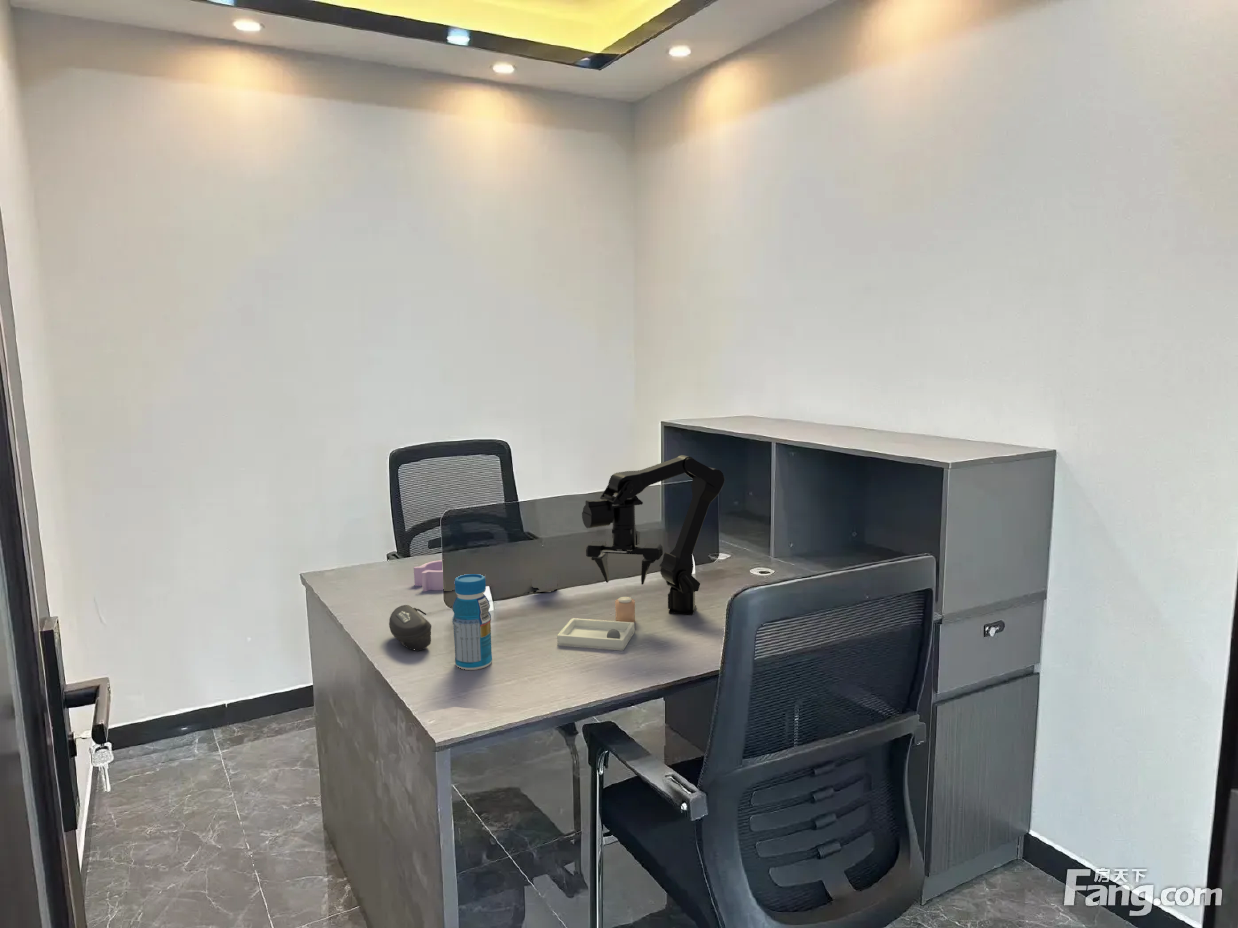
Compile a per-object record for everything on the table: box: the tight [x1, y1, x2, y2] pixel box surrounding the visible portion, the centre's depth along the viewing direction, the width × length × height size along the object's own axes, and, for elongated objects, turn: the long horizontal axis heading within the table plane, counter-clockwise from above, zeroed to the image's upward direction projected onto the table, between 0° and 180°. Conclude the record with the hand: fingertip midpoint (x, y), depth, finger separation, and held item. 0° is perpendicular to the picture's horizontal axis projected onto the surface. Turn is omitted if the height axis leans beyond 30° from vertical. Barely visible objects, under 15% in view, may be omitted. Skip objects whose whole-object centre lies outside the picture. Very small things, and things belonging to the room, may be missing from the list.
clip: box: [413, 559, 444, 592], centre depth 232 cm, size 20×12×7 cm, turn 125°
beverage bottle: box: [451, 574, 493, 671], centre depth 174 cm, size 8×8×20 cm
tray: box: [556, 617, 635, 651], centre depth 189 cm, size 16×12×2 cm
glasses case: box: [388, 604, 432, 651], centre depth 188 cm, size 18×10×8 cm, turn 31°
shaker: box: [614, 596, 636, 624], centre depth 200 cm, size 5×5×6 cm
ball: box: [607, 629, 620, 639], centre depth 185 cm, size 3×3×3 cm
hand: (625, 583), depth 199 cm, fingers open, 9 cm apart
